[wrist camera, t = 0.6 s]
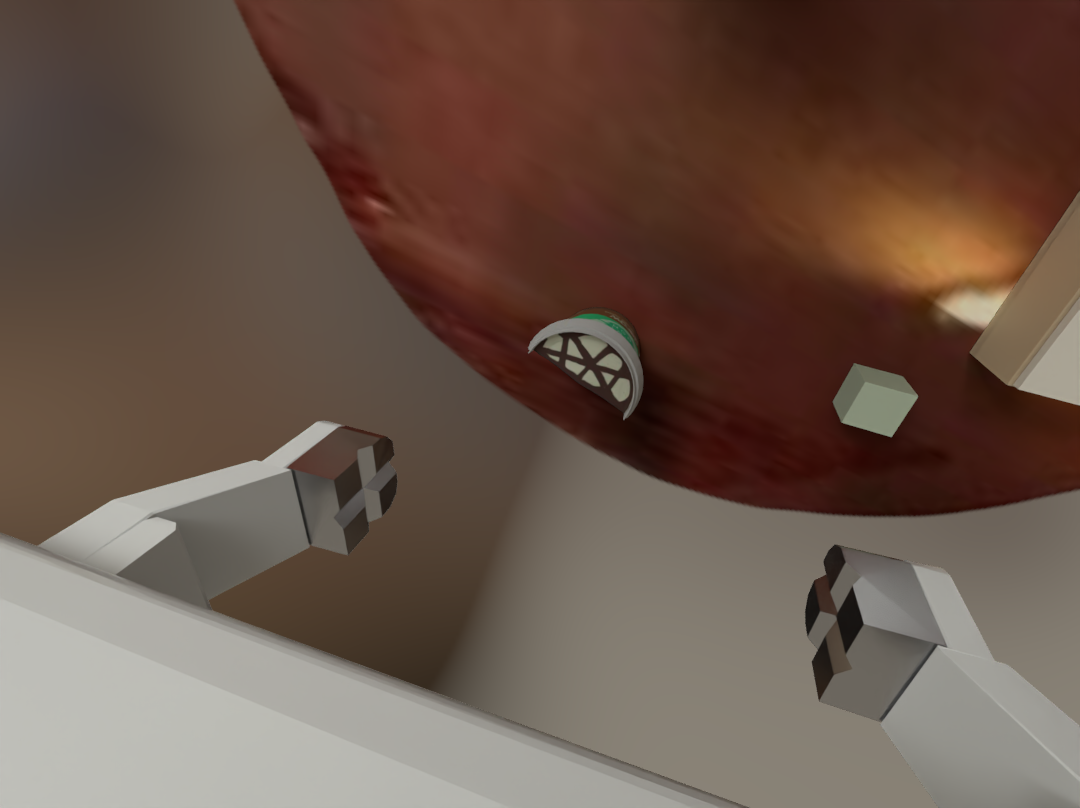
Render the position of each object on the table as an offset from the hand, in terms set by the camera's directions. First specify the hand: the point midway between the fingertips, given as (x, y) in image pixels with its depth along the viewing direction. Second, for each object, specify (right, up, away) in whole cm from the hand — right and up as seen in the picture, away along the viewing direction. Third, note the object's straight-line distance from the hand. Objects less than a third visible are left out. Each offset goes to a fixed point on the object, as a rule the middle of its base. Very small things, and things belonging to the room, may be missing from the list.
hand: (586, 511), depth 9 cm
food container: (+7, +10, +46) cm, 47 cm away
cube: (+32, +3, +41) cm, 52 cm away
